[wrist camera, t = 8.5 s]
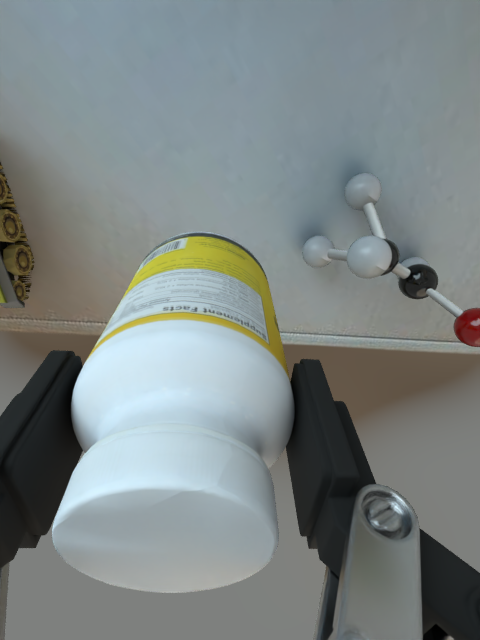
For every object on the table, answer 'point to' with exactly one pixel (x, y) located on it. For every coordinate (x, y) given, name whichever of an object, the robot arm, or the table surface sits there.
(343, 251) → the molecular model
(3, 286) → the toy tank
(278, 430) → the pill bottle
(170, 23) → the table surface
